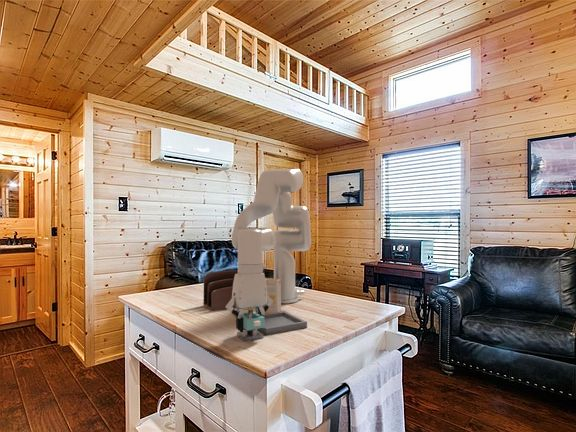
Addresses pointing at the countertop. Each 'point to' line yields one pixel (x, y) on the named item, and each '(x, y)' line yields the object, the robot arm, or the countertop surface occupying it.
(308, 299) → the countertop surface
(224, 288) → the letter holder
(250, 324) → the teal rectangular frame
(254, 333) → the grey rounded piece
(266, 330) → the tray
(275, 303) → the supplement box
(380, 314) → the countertop surface
